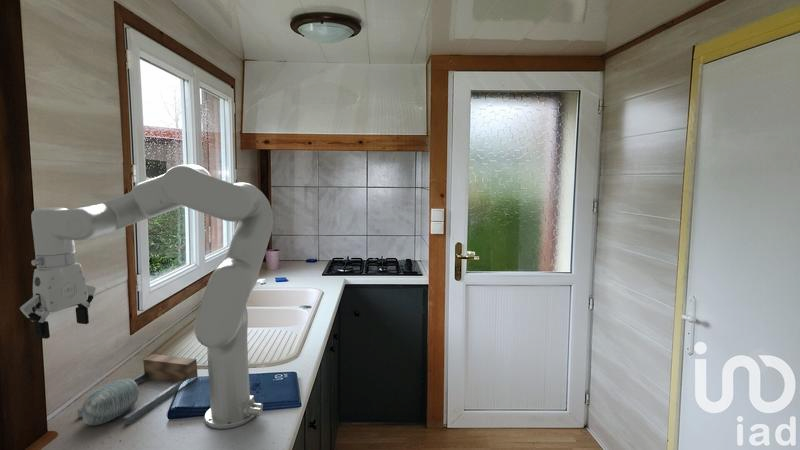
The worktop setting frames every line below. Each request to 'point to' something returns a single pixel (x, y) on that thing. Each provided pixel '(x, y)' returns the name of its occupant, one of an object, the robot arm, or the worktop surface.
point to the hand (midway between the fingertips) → (64, 330)
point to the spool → (109, 401)
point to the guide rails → (151, 403)
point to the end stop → (170, 368)
